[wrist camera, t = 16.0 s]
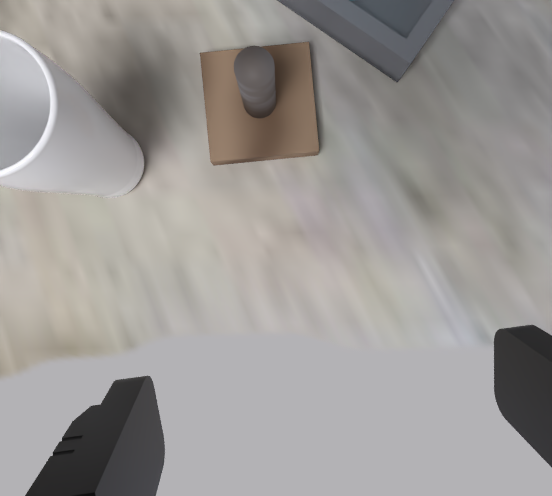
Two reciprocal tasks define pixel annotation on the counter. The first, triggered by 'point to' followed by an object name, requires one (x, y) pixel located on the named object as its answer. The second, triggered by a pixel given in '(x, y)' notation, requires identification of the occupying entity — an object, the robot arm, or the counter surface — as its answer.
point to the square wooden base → (259, 103)
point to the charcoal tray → (376, 27)
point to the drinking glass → (58, 130)
